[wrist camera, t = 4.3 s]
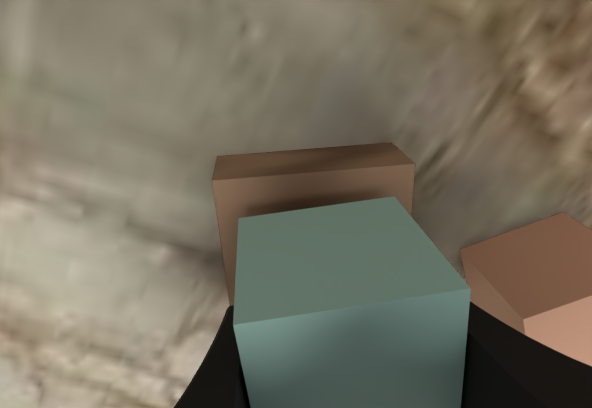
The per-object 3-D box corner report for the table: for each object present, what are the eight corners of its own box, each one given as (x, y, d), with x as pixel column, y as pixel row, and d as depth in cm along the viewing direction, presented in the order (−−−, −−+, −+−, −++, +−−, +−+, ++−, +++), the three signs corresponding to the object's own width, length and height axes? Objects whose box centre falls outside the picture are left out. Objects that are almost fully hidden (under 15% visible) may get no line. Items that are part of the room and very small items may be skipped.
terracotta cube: (561, 211, 19) (659, 271, 15) (568, 292, 21) (655, 367, 17) (458, 248, 19) (523, 319, 15) (475, 325, 22) (536, 407, 17)
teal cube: (394, 196, 13) (471, 288, 9) (395, 319, 15) (457, 446, 11) (238, 218, 13) (233, 325, 8) (261, 340, 15) (266, 479, 10)
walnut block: (388, 140, 17) (415, 163, 14) (382, 280, 20) (403, 322, 17) (217, 153, 17) (211, 180, 14) (237, 295, 20) (235, 341, 17)
